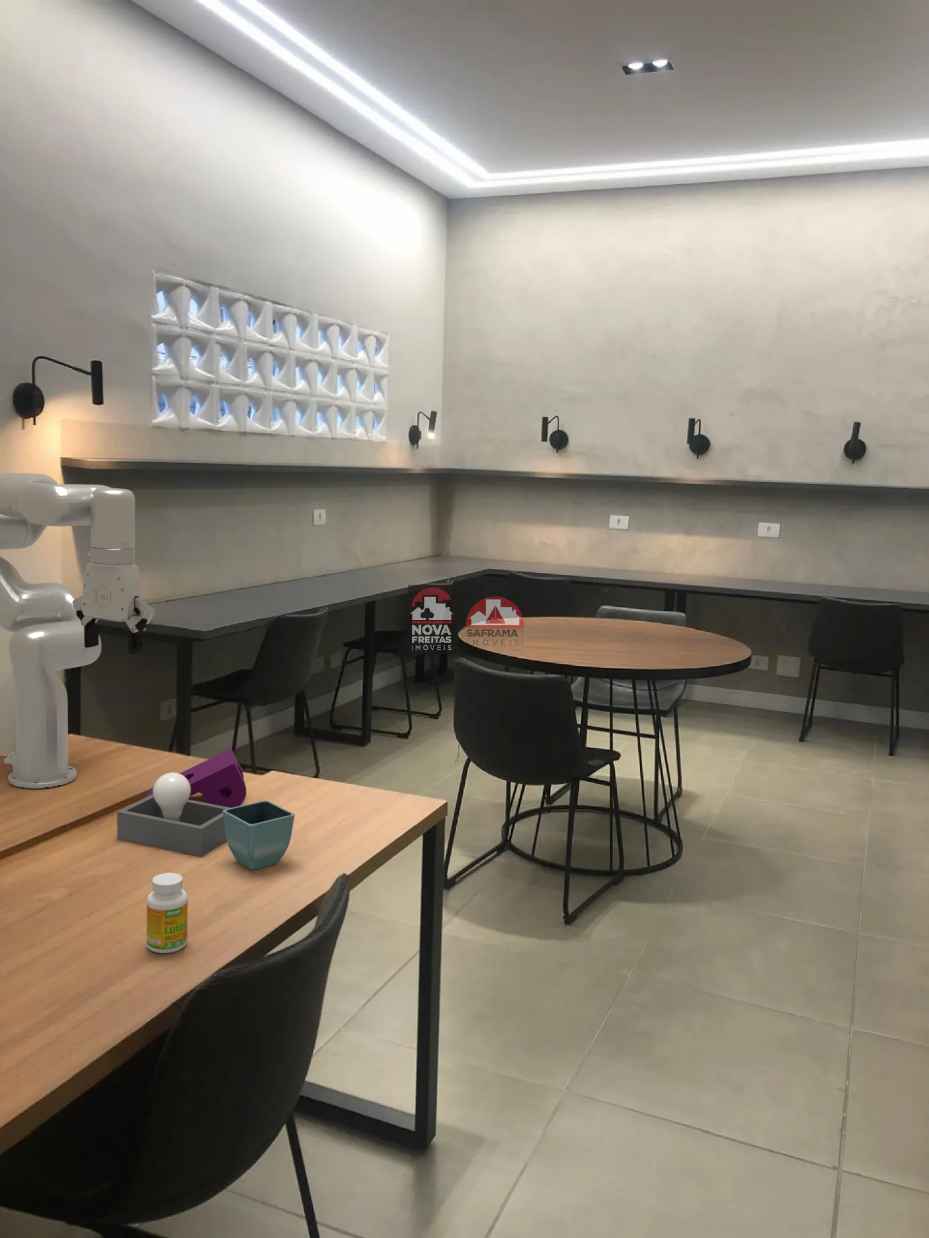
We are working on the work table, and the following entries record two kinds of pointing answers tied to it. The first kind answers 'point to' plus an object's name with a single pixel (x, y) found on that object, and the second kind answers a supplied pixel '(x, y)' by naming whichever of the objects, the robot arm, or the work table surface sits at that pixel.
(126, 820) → the open box
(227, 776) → the mounting bracket
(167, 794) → the lightbulb
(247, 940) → the work table surface
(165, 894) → the supplement bottle
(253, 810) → the flower pot
